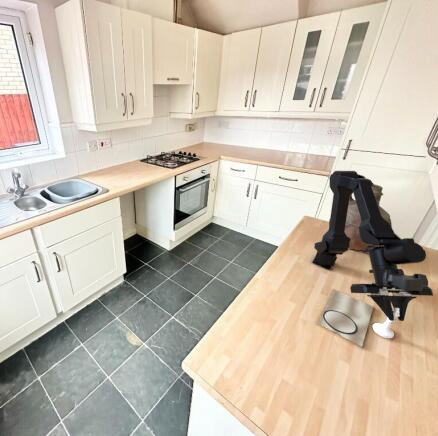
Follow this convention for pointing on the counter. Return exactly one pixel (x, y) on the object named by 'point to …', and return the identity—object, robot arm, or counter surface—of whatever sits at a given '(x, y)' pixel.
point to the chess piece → (386, 326)
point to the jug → (355, 219)
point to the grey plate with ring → (347, 317)
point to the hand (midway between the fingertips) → (396, 320)
